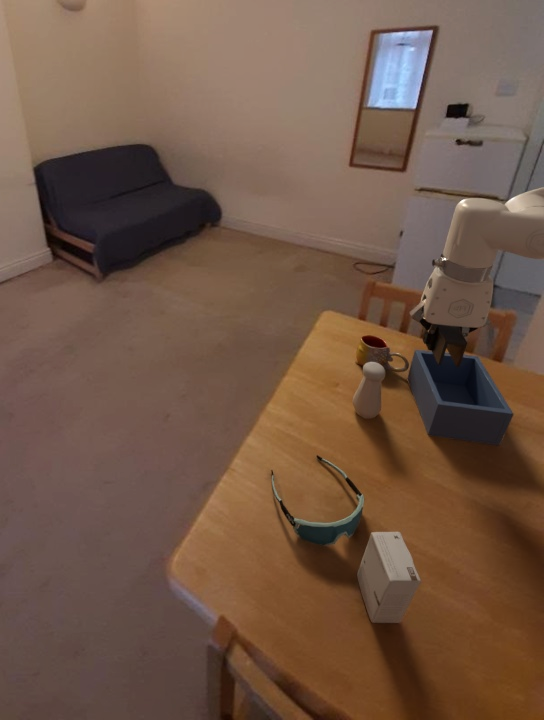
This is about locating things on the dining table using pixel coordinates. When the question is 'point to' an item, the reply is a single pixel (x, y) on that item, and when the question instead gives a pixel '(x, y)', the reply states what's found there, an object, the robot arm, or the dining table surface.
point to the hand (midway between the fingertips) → (440, 346)
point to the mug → (377, 353)
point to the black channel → (449, 344)
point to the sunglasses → (325, 531)
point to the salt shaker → (369, 391)
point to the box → (458, 399)
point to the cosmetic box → (387, 577)
